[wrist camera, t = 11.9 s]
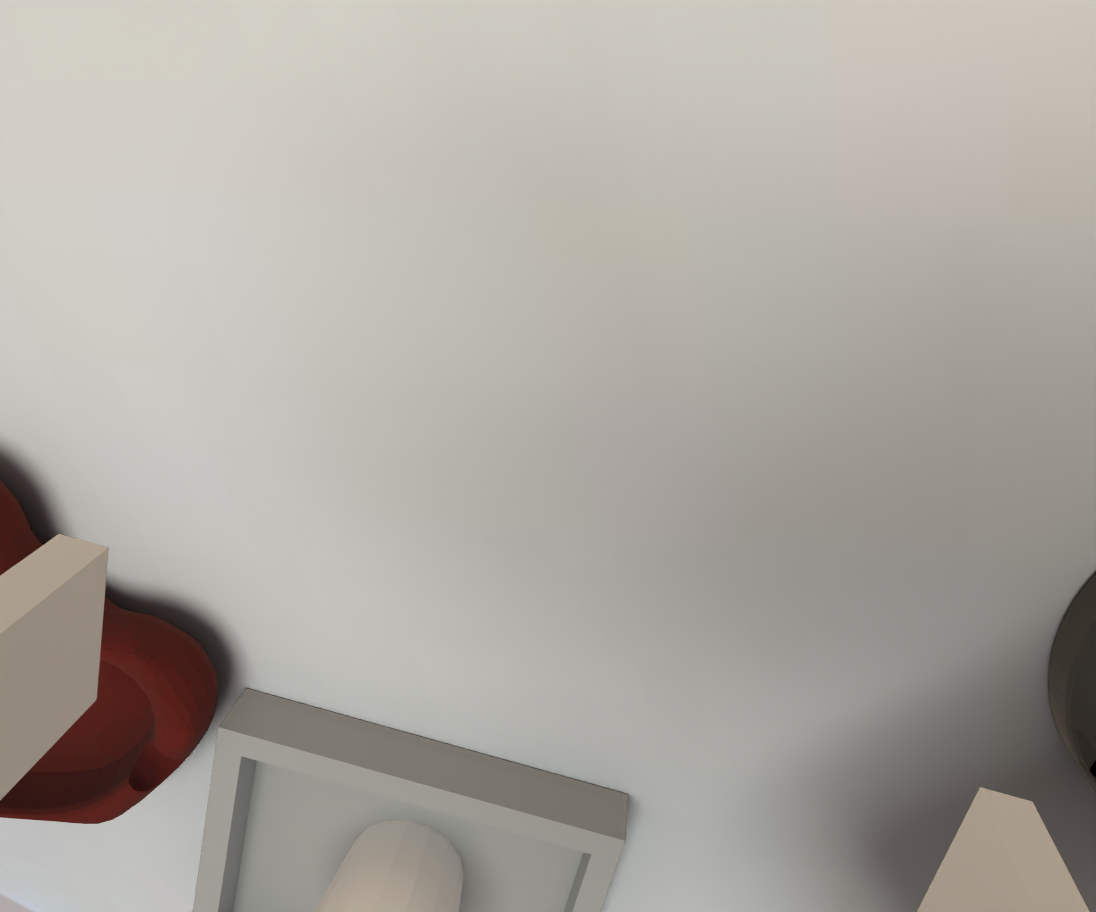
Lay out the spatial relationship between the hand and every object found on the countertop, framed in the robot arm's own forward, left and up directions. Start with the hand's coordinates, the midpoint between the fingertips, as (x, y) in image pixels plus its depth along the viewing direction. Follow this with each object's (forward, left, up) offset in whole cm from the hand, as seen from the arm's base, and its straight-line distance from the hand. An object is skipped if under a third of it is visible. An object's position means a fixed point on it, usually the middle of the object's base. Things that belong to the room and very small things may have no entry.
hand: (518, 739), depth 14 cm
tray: (+3, +28, -25) cm, 37 cm away
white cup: (+3, +27, -24) cm, 37 cm away
